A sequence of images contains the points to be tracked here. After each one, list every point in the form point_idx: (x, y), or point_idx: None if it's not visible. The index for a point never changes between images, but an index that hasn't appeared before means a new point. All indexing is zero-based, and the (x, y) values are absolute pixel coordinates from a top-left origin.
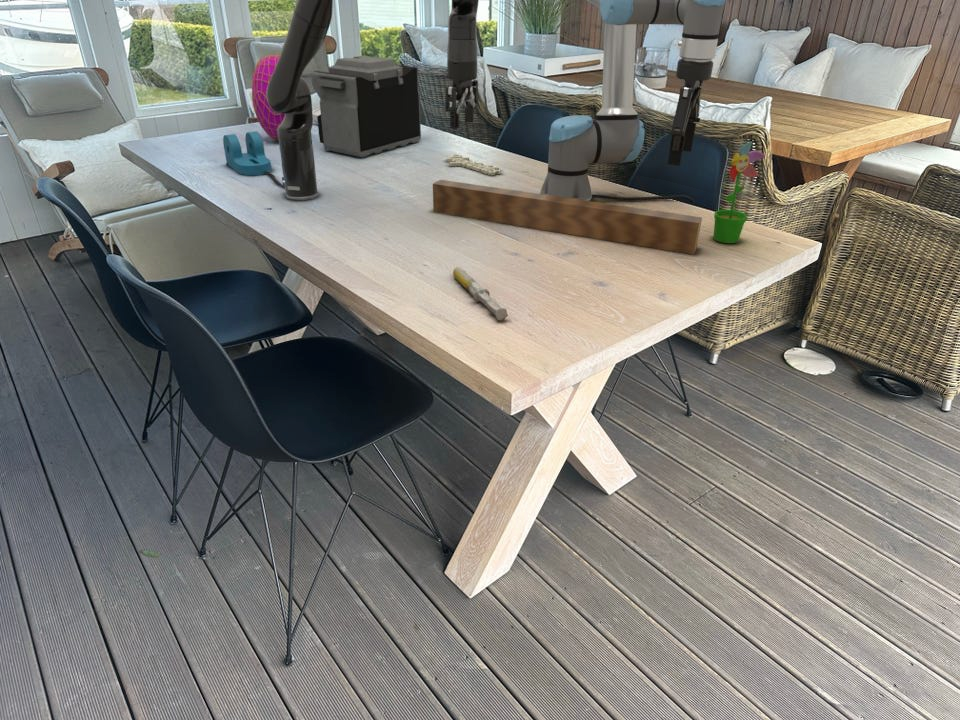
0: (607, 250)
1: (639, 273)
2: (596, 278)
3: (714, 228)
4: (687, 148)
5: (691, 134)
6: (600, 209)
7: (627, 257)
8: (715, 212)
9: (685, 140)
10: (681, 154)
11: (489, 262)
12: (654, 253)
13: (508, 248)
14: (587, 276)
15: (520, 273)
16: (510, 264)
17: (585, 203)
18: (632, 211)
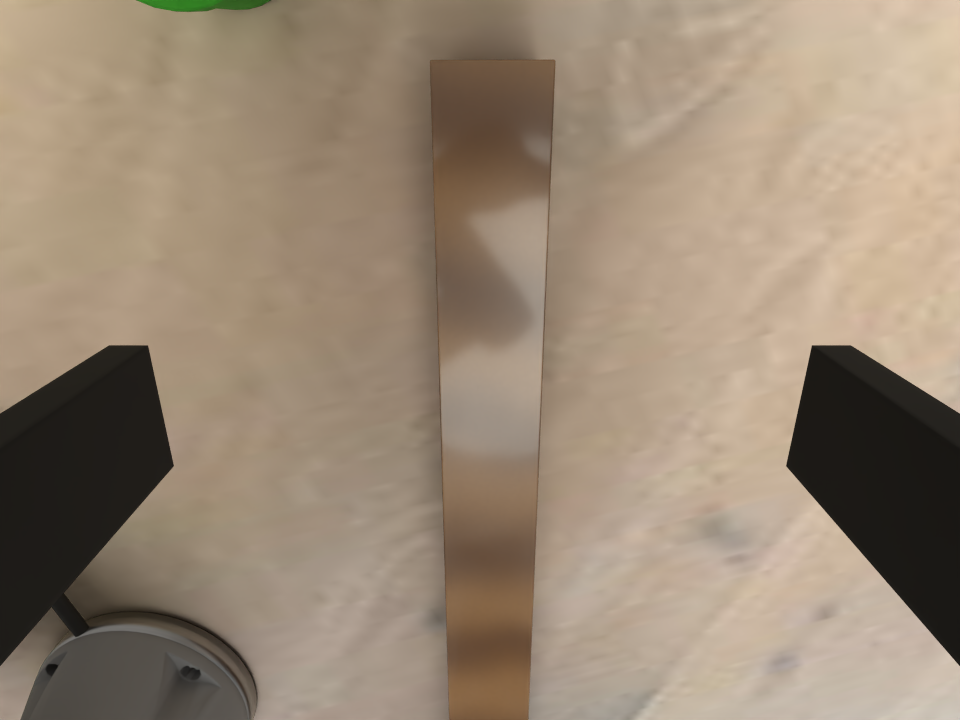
0: (633, 426)
1: (848, 255)
2: (940, 390)
3: (243, 3)
4: (140, 402)
5: (11, 484)
6: (533, 574)
7: (683, 340)
8: (181, 5)
9: (96, 491)
10: (938, 401)
11: (874, 698)
12: (592, 248)
13: (736, 691)
14: None
15: None
16: (875, 649)
17: (491, 643)
18: (510, 446)
